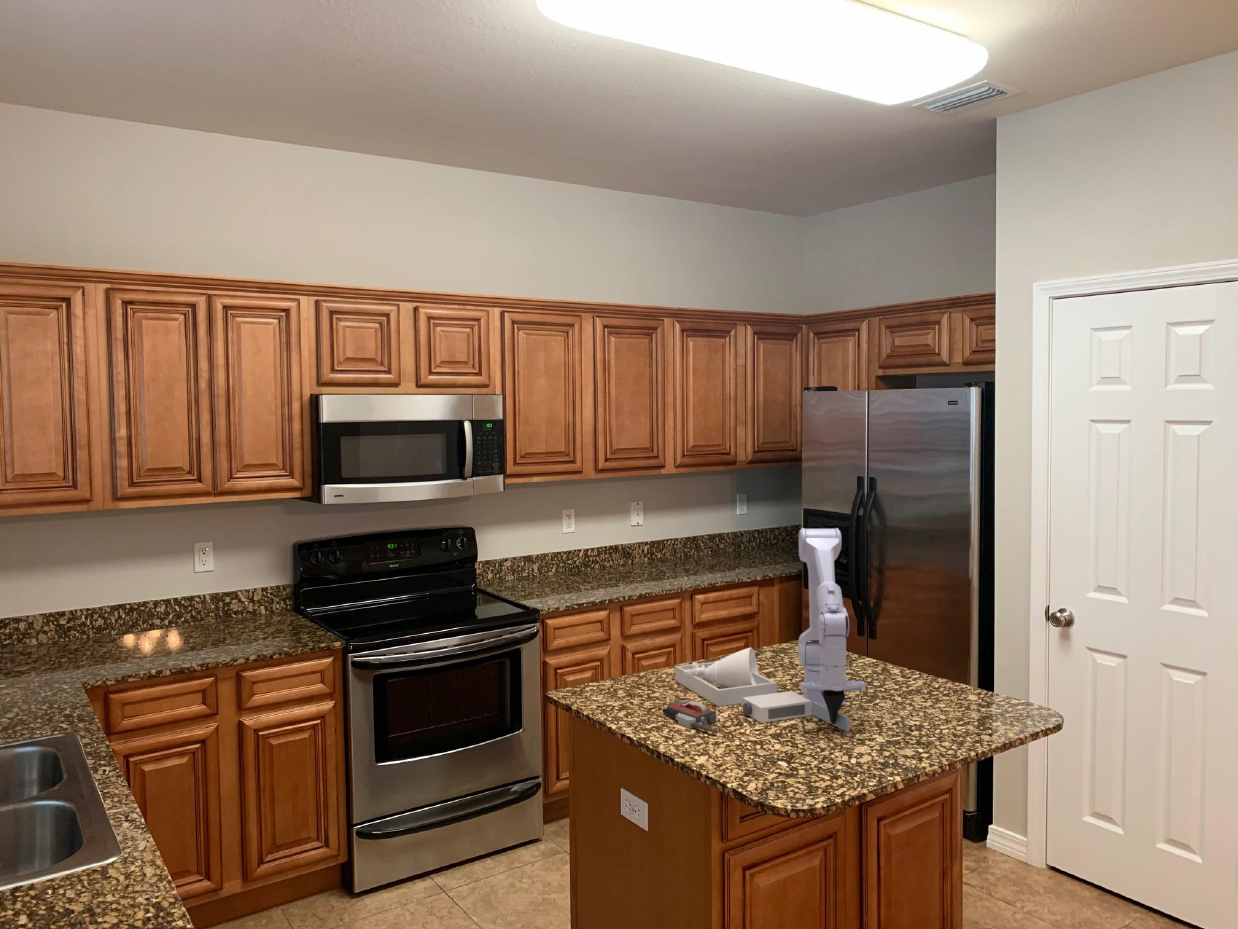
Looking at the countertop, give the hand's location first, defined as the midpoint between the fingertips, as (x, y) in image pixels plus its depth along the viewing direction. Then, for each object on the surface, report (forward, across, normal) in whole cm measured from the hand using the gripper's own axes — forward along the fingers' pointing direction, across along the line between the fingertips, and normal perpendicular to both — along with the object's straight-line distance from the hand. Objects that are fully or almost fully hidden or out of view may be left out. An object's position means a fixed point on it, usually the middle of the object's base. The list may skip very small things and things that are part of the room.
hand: (833, 722), depth 214 cm
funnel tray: (+1, -20, +33) cm, 39 cm away
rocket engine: (+1, -20, +33) cm, 39 cm away
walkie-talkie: (+2, -30, +7) cm, 31 cm away
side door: (+1, +1, +4) cm, 4 cm away
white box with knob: (+1, -10, +12) cm, 16 cm away
